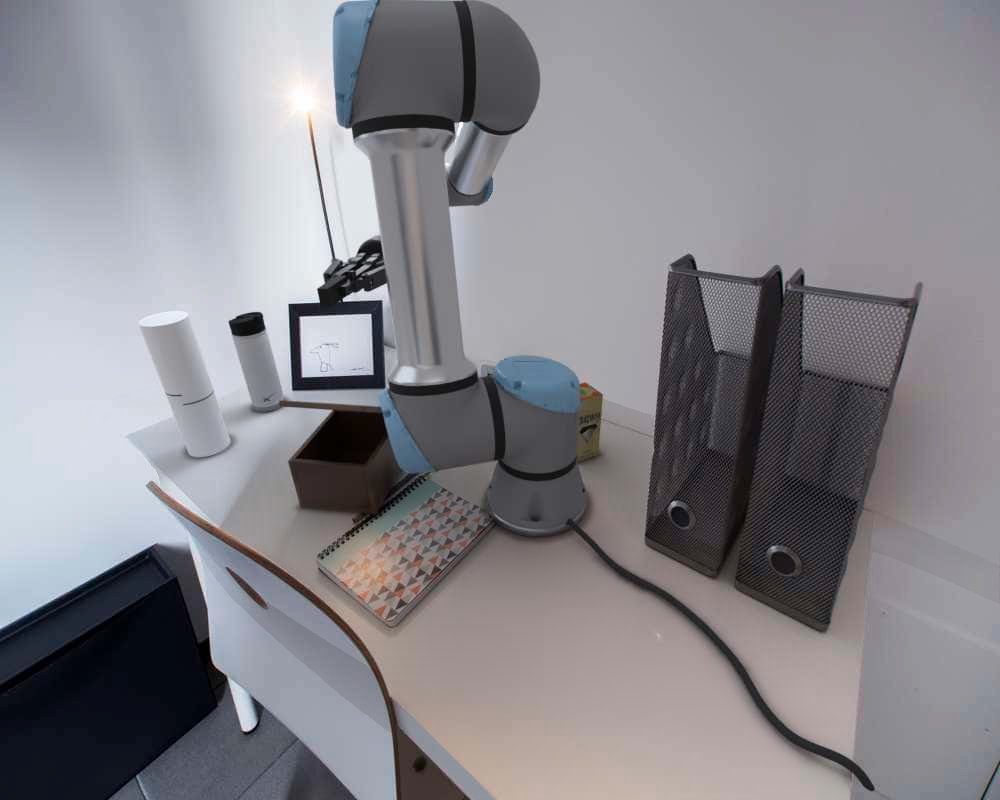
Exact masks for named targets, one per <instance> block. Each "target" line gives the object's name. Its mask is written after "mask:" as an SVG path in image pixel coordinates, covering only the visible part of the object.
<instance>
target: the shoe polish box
mask: <svg viewBox="0 0 1000 800" xmlns="http://www.w3.org/2000/svg"><path fill="white" fill-rule="evenodd" d="M603 399H604V394H603V393H601V392H600V391H599V390H598V389H596V388H595V387H593V386H592V385H590V384H589V383H587V382H581V383H580V401H581V409H580V416H579V431H578V447H577V463H578V462H581V461H584V460H587V459H589V458H593V457H595V456H598V455H599V450H600V438H601V425H602V414H603V413H602V412H603V411H602V410H603Z"/></svg>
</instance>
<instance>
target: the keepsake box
mask: <svg viewBox="0 0 1000 800" xmlns="http://www.w3.org/2000/svg"><path fill="white" fill-rule="evenodd" d="M287 463H288V466H289V470H290V475H291V477H292V482H293V485H294V489H295V492H296V495H297V499H298V503H299V507H300V508H307V509H317V510H325V511H337V512H348V513H356V514H366V515H374V516H375V515H378V513H379V511H380V509H381V508H382V506H383V504H384V503H385V501H386V499H387V497H388V496H389V493H390V492H391V490H392V488H393V486H394V484H395V483H396V481H397V479H398V477H399V475H400V474H401V471H403V470H402V469H401V468H400V467H399V465H398V463H397V460H396V458H395V455H394V452H393V449H392V446H391V443H390V439H389V436H388V432H387V429H386V425H385V420H384V416H383V413H382V412H355V411H340V410H331V412H329V414H328V415H327V416H325V418H324V419H323V420H322V422H321V423H320V424H319V425H318V426H317V427H316V429H315V430H313V432H312V433H311V434H310V435H309V437H307V438H306V440H305V441H304V442H303V443H302V444H301V446H300V447H299V448H298V449H297V450H296V451H295V453H293V455H292V456H291V457H290V458H289V459H288V460H287Z"/></svg>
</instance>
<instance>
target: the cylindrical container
mask: <svg viewBox="0 0 1000 800" xmlns="http://www.w3.org/2000/svg"><path fill="white" fill-rule="evenodd" d="M138 326H139V328H140V331H141V333H142V336H143V339H144V342H145V344H146V347H147V349H148V352H149V354H150V357H151V360H152V363H153V364H154V368H155V370H156V372H157V375H158V378H159V381H160V383H161V385H162V388H163V391H164V393H165V396H166V399H167V401H168V403H169V406H170V409H171V411H172V414H173V417H174V419H175V423H176V425H177V428H178V430H179V433H180V436H181V438H182V441H183V442H184V446H185V448H186V450H187V453H188V455H189V456H190V457H194V458H207V457H210V456H214V455H217V454H220V453H221V452H223V451H225V450H226V449H227V448H228V447H229V446H230V444H231V438H230V437H231V436H230V435H229V432H228V429H227V426H226V423H225V420H224V417H223V414H222V411H221V408H220V405H219V401H218V399H217V395H216V392H215V390H214V387H213V384H212V381H211V378H210V375H209V371H208V368H207V366H206V363H205V360H204V357H203V354H202V351H201V348H200V344H199V342H198V339H197V335H196V332H195V330H194V326H193V324H192V320H191V317H190V315H189V313H188V312H187V311H184V310H169V311H162V312H158V313H154V314H151V315H147V316H145V317H143V318H141V319H140V320H139V321H138Z"/></svg>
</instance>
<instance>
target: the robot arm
mask: <svg viewBox="0 0 1000 800" xmlns="http://www.w3.org/2000/svg"><path fill="white" fill-rule="evenodd" d="M537 57H538V56H537V54H536V52H535V50H534V47H533V45H532V43H531V42H530V39H529V38H528V36H527V34H526V33H525V31H524V30H523V29H522V28H521V26H520V25H519V24H518V23H517V22H516V21H515V20H514V19H513V18H512V17H511V16H510V15H509V14H508V13H506V12H505V11H503V10H502V9H500V8H498V7H497V6H495V5H493V4H491V3H487V2H484V1H482V0H348V1H344V2H342V3H341V4H339V5H338V6H337V8H336V9H335V11H334V13H333V18H332V66H333V69H332V70H333V86H334V87H333V88H334V99H335V116H336V121H337V125H339V126H340V127H342V128H345V129H346V130H347V129H348V130H349V129H351V134H352V140H353V141H352V142H353V146H355V147H356V148H357V149H358V150H359V151H360V152H361V153H362V154H363V155H365V156H366V157H367V159H368V160H369V165H370V170H371V171H370V172H371V179H372V185H373V194H374V199H375V200H374V201H375V208H376V215H377V222H378V229H379V232H378V233H377V234H375V235H373V236H372V237H371V238H368V239H367V240H366V241H364V242H363V243H361V245H360V246H359V248H358V250H357V252H356V255H355V256H351V257H350V258H348V259H347V261H345V262H344V260H343V259H339V258H335V257H334V258H332V259H331V260H330V261H331V263H330V264H329V266H328V267H327V269H326V270H325V271H324V272H323V273H322V276H323V281H324V282H323V284H322V285H321V286H319V287H317V288H316V290H317V295H318V300H319V305H320V308H322V309H325V308H326V309H331V308H333V307H335V305H337V304H338V303H340V302H341V301H342V300H343V299H345V298H346V297H348V296H350V295H352V294H353V293H354V294H356V293H359V292H360V291H362V290H363V291H364V292H365V293H366V292H367V293H370V292H372V291H374V290H376V289H378V288H380V287H383V286H385V285H386V287H387V294H388V303H389V308H390V315H391V323H392V329H393V336H394V344H395V351H396V358H397V359H396V360H397V362H396V364H395V366H394V367H393V368H392V370H391V371H390V372H389V373H388V374H387V382H388V387H387V388H384V389H382V390H380V391H379V394H378V398H379V404H380V407H381V409H382V412H383V416H384V420H385V425H386V429H387V432H388V436H389V439H390V443H391V446H392V449H393V452H394V455H395V458H396V460H397V463H398V465H399V467H400V468H401V469H402V470H401V471H403V472H404V473H407V474H411V475H412V474H421V473H430V472H431V473H438V472H439V471H444V470H451V469H456V468H461V467H467V466H474V465H479V464H485V463H490V462H496V464H495V466H494V469H493V473H492V476H491V479H490V481H489V484H488V486H487V491H486V506H487V510H488V513H489V514H490V516H491V518H492V520H494V522H495V523H497V524H498V525H499V526H500V527H502V528H504V529H505V530H507V531H509V532H511V533H514V534H517V535H521V536H526V537H533V538H535V537H536V538H541V537H543V538H544V537H551V536H556V535H560V534H562V533H565V532H567V531H569V530H571V529H573V531H574V532H576V534H577V535H579V537H580V538H581V539H583V541H585V542H586V543H587V545H589V546H590V547H591V548H592V550H594V552H595V553H596V554H597V555H598V557H600V558H601V560H603V561H604V562H605V564H607V565H608V566H609V567H610V568H611V569H613V570H614V571H616V573H618V574H620V575H621V576H622V577H624V578H626V579H628V580H629V581H631V582H633V583H634V584H637V585H639V586H640V587H643V588H645V589H647V590H649V591H650V592H652V593H654V594H655V595H656V596H657V595H658V596H659V597H660V598H662V599H663V600H665V601H667V602H668V603H669V604H671V605H672V606H673V607H674V608H676V609H677V610H679V611H680V612H681V613H682V614H683V615H685V617H687V618H688V619H689V620H690V621H691V622H693V623H694V624H695V625H696V626H697V627H698V629H700V630H701V631H702V632H703V633H704V634H705V635H706V636H707V637H708V638H709V639H710V640H711V641H712V642H713V643H714V645H715V646H716V647H717V648H718V649H719V650H720V652H721V653H722V654H723V655H724V656H725V657H726V658H727V659H728V661H729V662H730V664H731V665H732V666H733V668H734V669H735V670H736V672H737V673H738V675H739V677H740V678H741V680H742V683H743V684H744V685H745V688H746V690H747V691H748V693H749V694H750V696H751V698H752V700H753V701H754V703H755V705H756V706H757V707H758V709H759V710H760V712H761V713H762V714H763V716H764V717H765V718H766V720H767V721H768V722H769V723H770V724H771V725H772V726H773V727H774V728H775V729H776V731H777V732H779V733H780V734H781V735H782V736H783V737H784V738H786V739H787V740H788V741H790V742H791V743H793V744H794V745H796V746H798V747H799V748H801V749H803V750H805V751H807V752H810V753H811V754H814V755H816V756H819V757H822V758H824V759H826V760H829V761H831V762H834V763H836V764H838V765H840V766H842V767H844V768H845V769H846V770H848V771H849V772H850V773H851V774H853V775H854V776H855V778H857V779H858V781H859V782H860V784H861V785H862V786H863V787H864V789H866V791H869V792H874V791H875V786H874V784H873V782H872V781H871V779H870V777H869V776H868V774H867V773H866V772H865V771H864V770H863V769H862V768H861V766H860V765H858V764H857V763H856V762H855V761H853V760H852V759H851V758H849V757H847V756H846V755H844V754H842V753H840V752H838V751H835V750H834V749H831V748H829V747H825V746H823V745H821V744H817V743H816V742H813V741H811V740H808V739H806V738H804V737H802V736H800V735H798V734H797V733H796V732H794V731H793V730H791V729H790V728H789V727H788V726H787V725H785V723H783V722H782V721H781V719H779V718H778V717H777V716H776V714H775V713H774V712H773V711H772V709H771V708H770V707H769V706H768V704H767V703H766V701H765V700H764V698H763V697H762V695H761V694H760V692H759V690H758V689H757V687H756V685H755V683H754V681H753V680H752V678H751V676H750V675H749V673H748V672H747V670H746V668H745V667H744V665H743V664H742V662H741V661H740V659H739V658H738V657H737V656H736V655H735V653H734V652H733V651H732V649H730V648H729V646H728V645H727V644H726V643H725V641H723V640H722V638H720V636H719V635H718V634H717V633H716V632H715V631H714V630H713V629H712V628H711V627H710V626H709V625H708V624H707V623H706V622H705V621H703V619H702V618H700V616H698V615H697V614H696V613H695V612H694V611H693V610H691V609H690V608H689V607H687V606H686V605H685V604H684V603H683V602H681V601H680V600H678V599H677V598H676V597H675V596H673V594H671V593H669V592H667V591H666V590H664V589H663V588H661V587H659V586H657V585H655V584H654V583H652V582H650V581H648V580H646V579H644V578H642V577H640V576H638V575H636V574H634V573H632V572H630V571H629V570H627V569H626V568H625V567H622V566H621V565H619V563H617V562H616V561H614V559H613V558H611V557H610V556H609V555H608V554H607V553H606V552H605V551H604V550H603V549H602V548H601V547H600V546H599V544H598V543H596V541H595V540H594V539H593V538H592V537H591V536H590V535H589V534H588V533H587V532H586V531H584V530H583V528H581V526H580V525H578V524H579V523H580V522H581V521H582V520H583V517H584V516H585V514H586V511H587V503H588V496H587V495H588V494H587V489H586V485H585V483H584V481H583V477H582V474H581V470H580V467H579V465H578V462H577V447H578V431H579V416H580V409H581V401H580V384H581V383H580V379H579V377H578V375H577V374H576V373H575V372H574V371H573V370H572V369H571V368H570V367H569V366H567V365H566V364H564V363H562V362H560V361H556V360H554V359H551V358H549V357H544V356H539V355H531V354H530V355H528V354H527V355H525V354H522V355H519V354H518V355H511V356H507V357H505V358H504V359H501V360H499V361H497V362H496V363H495V365H494V368H493V370H492V375H486V376H485V375H484V376H479V374H478V367H477V365H476V364H475V363H474V362H473V361H471V359H469V358H468V357H467V356H466V354H465V351H464V341H463V333H462V332H463V330H462V321H461V320H462V319H461V311H460V301H459V291H458V290H459V289H458V281H457V270H456V261H455V251H454V241H453V230H452V221H451V220H452V219H451V211H450V208H451V207H452V208H453V207H469V206H473V207H474V206H475V207H478V206H481V205H484V204H483V203H485V202H487V201H488V199H489V198H490V196H491V194H492V192H493V191H492V190H493V178H492V174H493V172H494V170H496V168H497V167H498V164H499V162H500V160H501V158H502V156H503V155H504V152H505V150H506V148H507V146H508V145H509V143H510V141H511V139H512V137H513V135H514V134H517V133H519V132H520V131H521V130H522V129H523V128H524V127H526V125H527V124H528V122H529V121H530V119H531V117H532V115H533V113H534V112H535V110H536V107H537V104H538V100H539V97H540V90H541V70H540V66H539V61H538V58H537ZM455 124H459V127H458V129H457V134H456V127H455V126H456V125H455ZM453 143H454V145H453ZM452 145H453V148H452V152H451V156H450V160H449V162H447V163H446V162H445V156H446V153H447V152H448V150H449V149H450V148H451V146H452Z"/></svg>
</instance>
